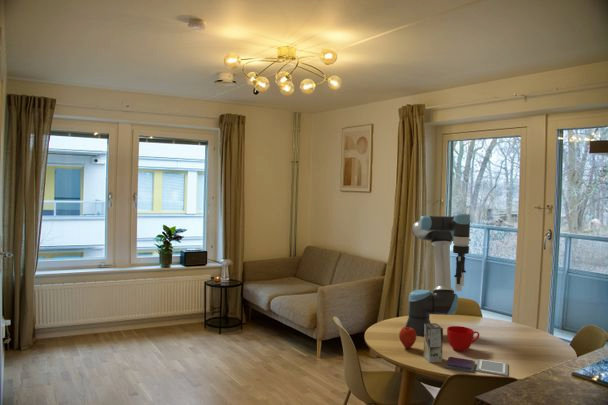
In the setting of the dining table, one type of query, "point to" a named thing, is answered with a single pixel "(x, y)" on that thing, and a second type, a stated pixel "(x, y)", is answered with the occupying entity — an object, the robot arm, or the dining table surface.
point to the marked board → (492, 367)
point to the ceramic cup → (460, 337)
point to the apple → (407, 337)
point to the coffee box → (433, 342)
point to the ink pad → (460, 364)
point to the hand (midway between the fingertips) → (459, 288)
